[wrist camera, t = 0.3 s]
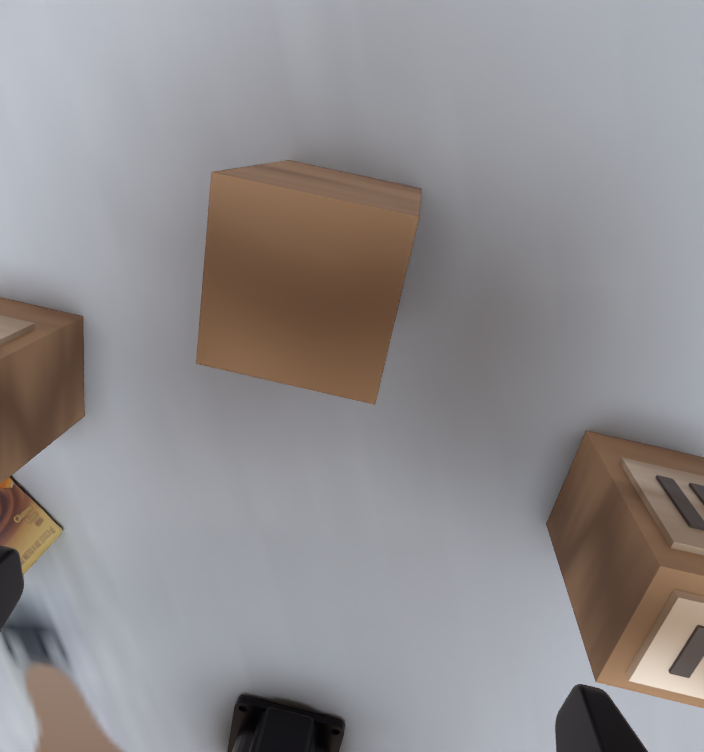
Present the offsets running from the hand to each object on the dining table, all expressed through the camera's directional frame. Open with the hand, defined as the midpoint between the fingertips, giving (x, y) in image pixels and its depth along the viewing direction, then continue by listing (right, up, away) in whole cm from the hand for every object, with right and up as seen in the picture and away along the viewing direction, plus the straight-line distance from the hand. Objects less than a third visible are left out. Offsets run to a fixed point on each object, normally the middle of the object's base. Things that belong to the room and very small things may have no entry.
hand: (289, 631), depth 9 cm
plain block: (+1, +9, +12) cm, 15 cm away
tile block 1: (+13, -1, +15) cm, 20 cm away
